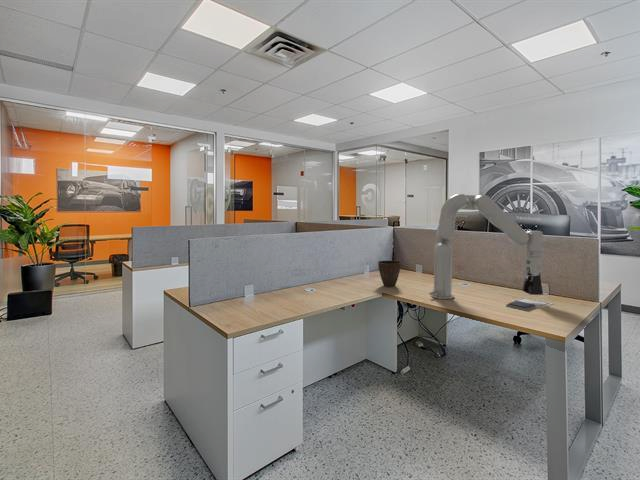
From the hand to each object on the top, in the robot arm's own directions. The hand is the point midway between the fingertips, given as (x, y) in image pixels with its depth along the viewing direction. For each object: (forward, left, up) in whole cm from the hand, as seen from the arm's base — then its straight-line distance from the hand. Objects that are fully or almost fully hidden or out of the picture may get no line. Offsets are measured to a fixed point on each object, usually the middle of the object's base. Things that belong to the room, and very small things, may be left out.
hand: (532, 287), depth 177 cm
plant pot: (-33, +73, -9) cm, 81 cm away
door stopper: (0, 0, -3) cm, 3 cm away
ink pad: (-13, -1, -8) cm, 15 cm away
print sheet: (0, 0, -8) cm, 8 cm away
